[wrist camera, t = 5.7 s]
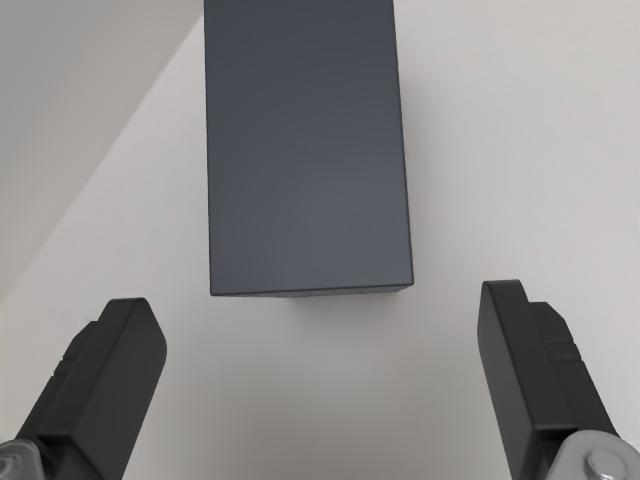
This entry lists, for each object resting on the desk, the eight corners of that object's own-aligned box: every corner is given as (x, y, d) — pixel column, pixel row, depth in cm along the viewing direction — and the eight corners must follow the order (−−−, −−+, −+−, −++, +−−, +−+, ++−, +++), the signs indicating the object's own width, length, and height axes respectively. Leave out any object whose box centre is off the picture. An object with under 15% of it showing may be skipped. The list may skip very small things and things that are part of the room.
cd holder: (401, 291, 21) (420, 285, 11) (283, 297, 22) (204, 296, 12) (386, 74, 23) (390, -100, 13) (274, 86, 23) (196, -72, 13)
